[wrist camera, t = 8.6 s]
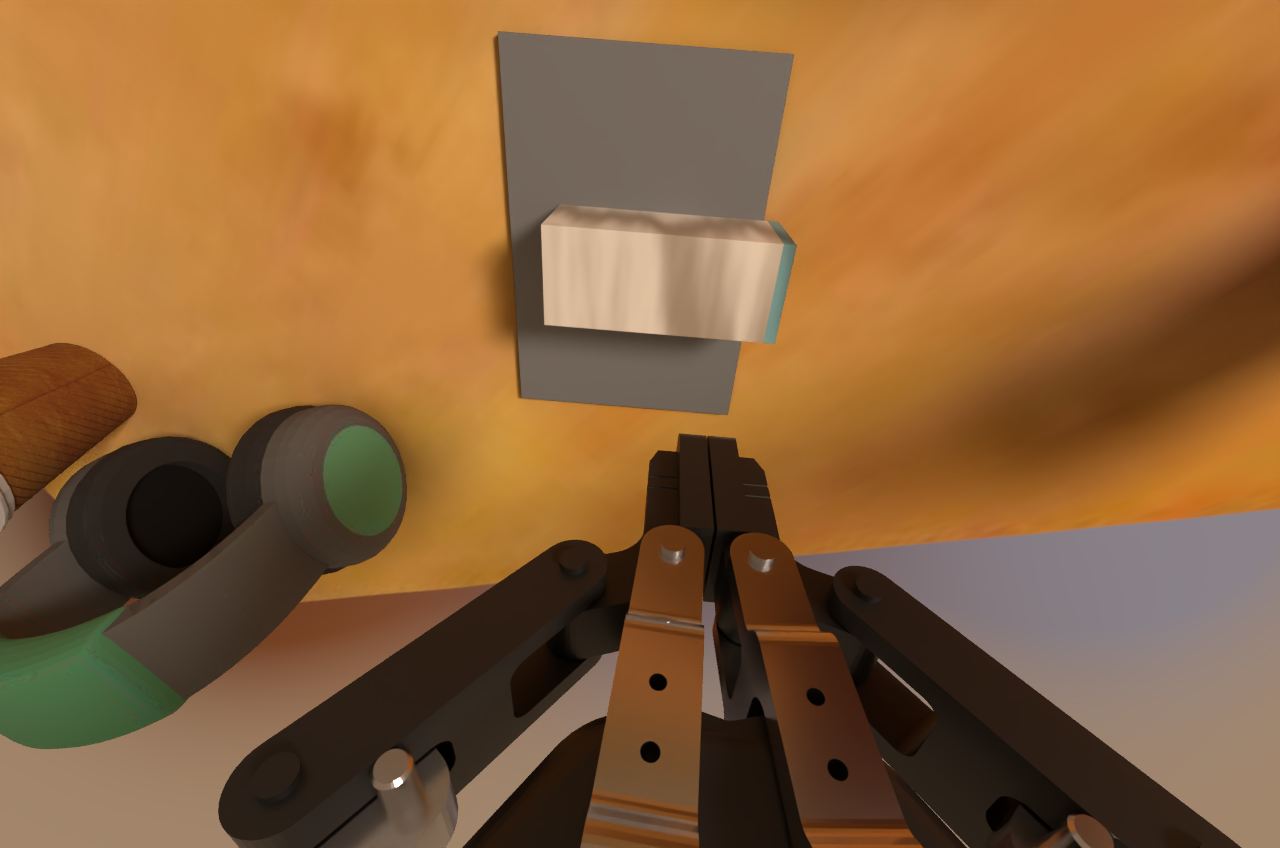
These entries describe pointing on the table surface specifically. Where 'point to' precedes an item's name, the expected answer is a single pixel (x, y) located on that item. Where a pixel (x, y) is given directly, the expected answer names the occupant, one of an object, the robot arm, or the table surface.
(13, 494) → the disposable coffee cup
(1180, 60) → the table surface
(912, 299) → the table surface
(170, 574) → the headphones
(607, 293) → the cream block
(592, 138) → the mat
